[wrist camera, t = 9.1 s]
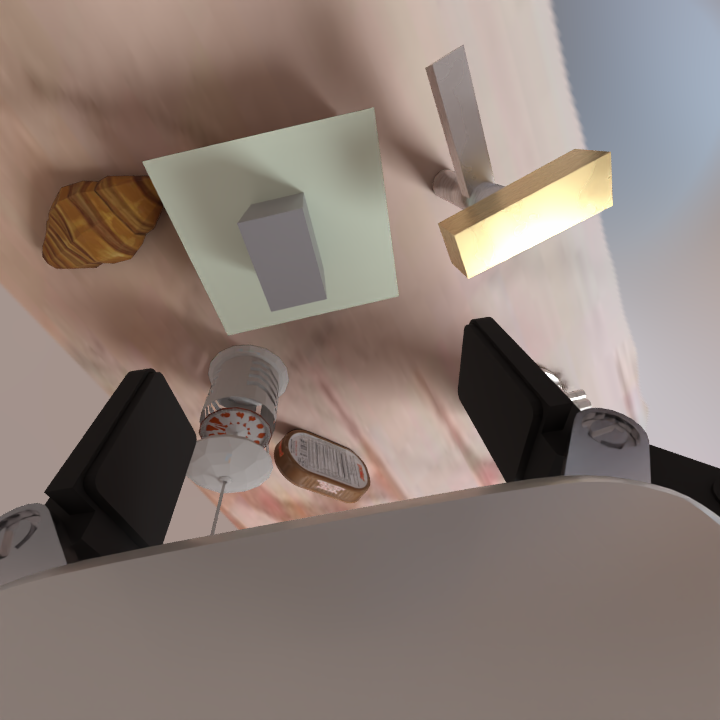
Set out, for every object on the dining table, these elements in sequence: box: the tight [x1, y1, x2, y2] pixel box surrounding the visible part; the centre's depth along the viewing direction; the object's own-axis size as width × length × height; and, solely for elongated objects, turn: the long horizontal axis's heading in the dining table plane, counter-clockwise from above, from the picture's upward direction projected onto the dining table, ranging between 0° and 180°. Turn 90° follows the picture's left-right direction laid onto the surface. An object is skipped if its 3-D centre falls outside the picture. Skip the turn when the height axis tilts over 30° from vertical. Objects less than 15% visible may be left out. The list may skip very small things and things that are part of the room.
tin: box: [274, 430, 370, 503], centre depth 48 cm, size 15×3×8 cm, turn 52°
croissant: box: [43, 176, 164, 269], centre depth 29 cm, size 14×7×5 cm, turn 118°
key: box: [425, 45, 613, 279], centre depth 24 cm, size 10×9×16 cm
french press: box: [186, 345, 289, 535], centre depth 33 cm, size 10×12×25 cm
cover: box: [142, 107, 399, 336], centre depth 25 cm, size 16×14×8 cm
